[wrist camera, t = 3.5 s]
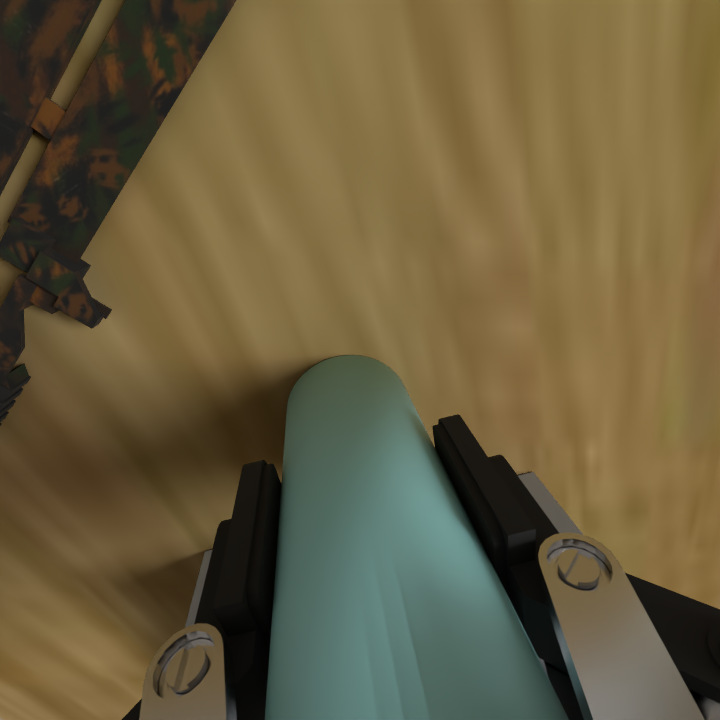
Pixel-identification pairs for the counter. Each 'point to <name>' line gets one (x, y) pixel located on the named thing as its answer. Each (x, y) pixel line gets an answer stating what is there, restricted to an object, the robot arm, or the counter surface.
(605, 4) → the counter surface
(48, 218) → the knife
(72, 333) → the counter surface
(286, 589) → the peg
